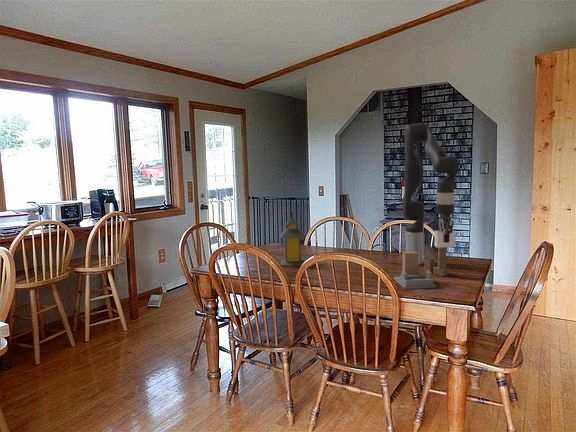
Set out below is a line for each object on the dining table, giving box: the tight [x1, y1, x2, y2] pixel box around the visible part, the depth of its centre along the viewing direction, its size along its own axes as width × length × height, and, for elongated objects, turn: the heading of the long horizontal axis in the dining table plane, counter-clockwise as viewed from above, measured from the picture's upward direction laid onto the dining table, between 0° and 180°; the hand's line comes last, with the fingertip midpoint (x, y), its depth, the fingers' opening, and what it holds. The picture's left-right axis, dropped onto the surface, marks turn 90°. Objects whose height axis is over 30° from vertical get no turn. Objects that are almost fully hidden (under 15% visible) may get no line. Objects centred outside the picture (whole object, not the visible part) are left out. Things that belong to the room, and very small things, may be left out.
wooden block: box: [423, 243, 449, 277], centre depth 214 cm, size 4×11×18 cm, turn 38°
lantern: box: [279, 209, 307, 267], centre depth 245 cm, size 14×14×30 cm
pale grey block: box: [434, 229, 457, 249], centre depth 196 cm, size 4×8×7 cm, turn 92°
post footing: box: [393, 250, 437, 290], centre depth 200 cm, size 17×14×13 cm
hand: (444, 241), depth 196 cm, fingers closed on pale grey block, 3 cm apart
